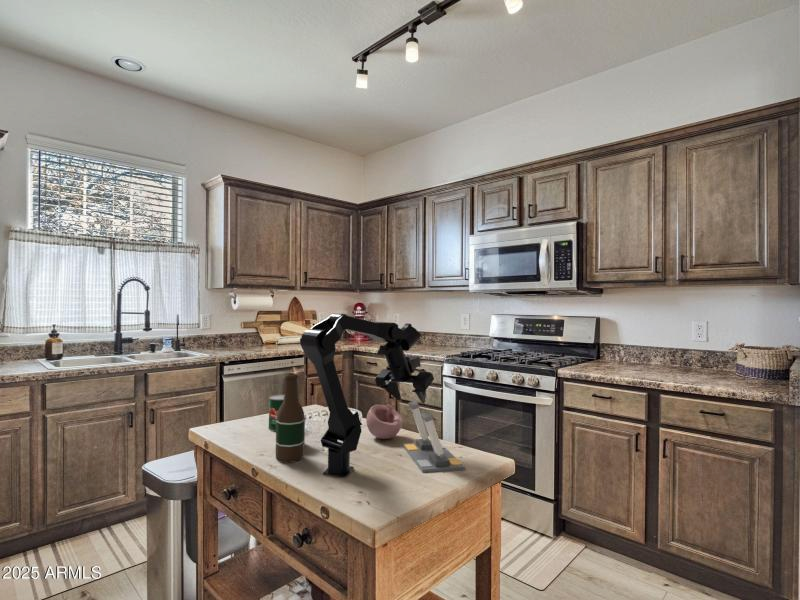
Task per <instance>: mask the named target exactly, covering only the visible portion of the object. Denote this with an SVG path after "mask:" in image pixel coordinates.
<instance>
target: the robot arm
mask: <svg viewBox="0 0 800 600" xmlns="http://www.w3.org/2000/svg"><path fill="white" fill-rule="evenodd" d="M412 325H413V324H412V323H405V324H404V325H403V326H402V327H400V328H399V324H398V323H396V322H389V321H387V322H386V321H370V320H366V319H362V318H359V317H354V316H350V315H347V314H346V313H332V314H331V315H329V316H328V317H326V318H325V319H323V320H322V321H320V322H318V323H316V324H314V325H313V326H312V327H311V328H308V329H306V330H304V331H303V333H302V334H301V336H300V338H299V343H300V344H299V345H300V347H301V348H302V350H303V353H304V354H305V356H306V358H308V360H309V361H310V362H311V363H312V364H313V365H314V367H315V370H316V371H315V372H316V374H317V377H318V380H319V383H320V386H321V390H322V392H323V395H324V399H325V402H326V405H327V408H328V411H329V416H328V419H327V426H328V429H327V430H326V431H325V433H324V434H323V435H322V437H321V438H320V443H321V446H322V447H323V448H326V449H327V453H328V454H327V468H326V469H325V470H324V471H323V472H322V475H323V476H324V475H325V476H333V477H340V478H347V477H348V476H349V475H350V474H351V473H352V471H353V470H355V467H354V466H351V463H350V461H351V453H352V452H354V451H357V449H358V444H359V441H360V437H361V435H362V425H363V424H362V422H361V420H360V414H359V412H358V411H357V410H352V409H350V408H349V407H348V406H349V405H348V403H347V400H346V397H345V394H344V390H343V387H342V384H341V381H340V377H339V373H338V371H337V367H336V365H335V361H334V359H335V354H336V351H337V349H336V344H337V343H338V342H339V341H340V340H341V338H342V337H343V334H344V331H348V332H354V333H357V334H363V335H366V336H368V337H369V338H370V339H372V340H374V341H376V342H384V344H383V345H382V344H381V345H379V348H378V350H377V353H376V354H377V355H382V356H384V357H385V360H386V362H387V366H386V368H382V370H381V371H380V372H379V373H378V374H377V375H376V376H375V378H374V381H375V382H374V383H375V384H376V386H377V387H380V388H381V389H382V390H385V391H386V392H387V393H389V395H391V396H393V397H394V398H395V399H396V400H397V401H401V399H402V396H401V392H400V390H399V387H398V385H397V383H412V386H413V388H414V393H415V394H416V396H417V397H418V399H419V400H420V402H421V403H422V404H425V403H426V395H427V394H426V393H427V389H428V388H429V386H431V384H432V383H433V382H434V380H435V377H434V374H433V373H432V372H430V371H419V372H418V373H417V375H414V373H415V372H416V368H419V367H421V356H420V355H406V354H405V352H408V351H409V350H411V348H413V347H414V346H415V345H416V344H417V343H418V342H419V341H420V340H421V333H420V332H419V331H418V329H416V328H415V327H414V326H412Z"/></svg>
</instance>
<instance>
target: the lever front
mask: <svg viewBox="0 0 800 600" xmlns="http://www.w3.org/2000/svg"><path fill="white" fill-rule="evenodd" d="M420 414H421V417H422V420H423V423H424V426H425V429H426V432H427V435H428V438H429V440H430V441H431V444H432V447H433V450H434V452H435V453H436V454H437V455H438V456H439V457H440V459H443V458H444V455H443V454H444V453H443V450H442V447H441V444H442V443H441V441H440V439H439V435H438V433H437V429H436V426H435V423H434V421H433V420H434V416H433V414H432V413H430V411H424V412H422V413H420ZM440 443H441V444H440Z"/></svg>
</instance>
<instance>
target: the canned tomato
mask: <svg viewBox="0 0 800 600" xmlns="http://www.w3.org/2000/svg"><path fill="white" fill-rule="evenodd" d="M268 398H269V402H268V406H269V407H268V430H269V431H271V432H276V417H277V412H278V410H279V408H280V406H281V405H282V403H283V400H284V394H273V395H270V396H269V397H268Z"/></svg>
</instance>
